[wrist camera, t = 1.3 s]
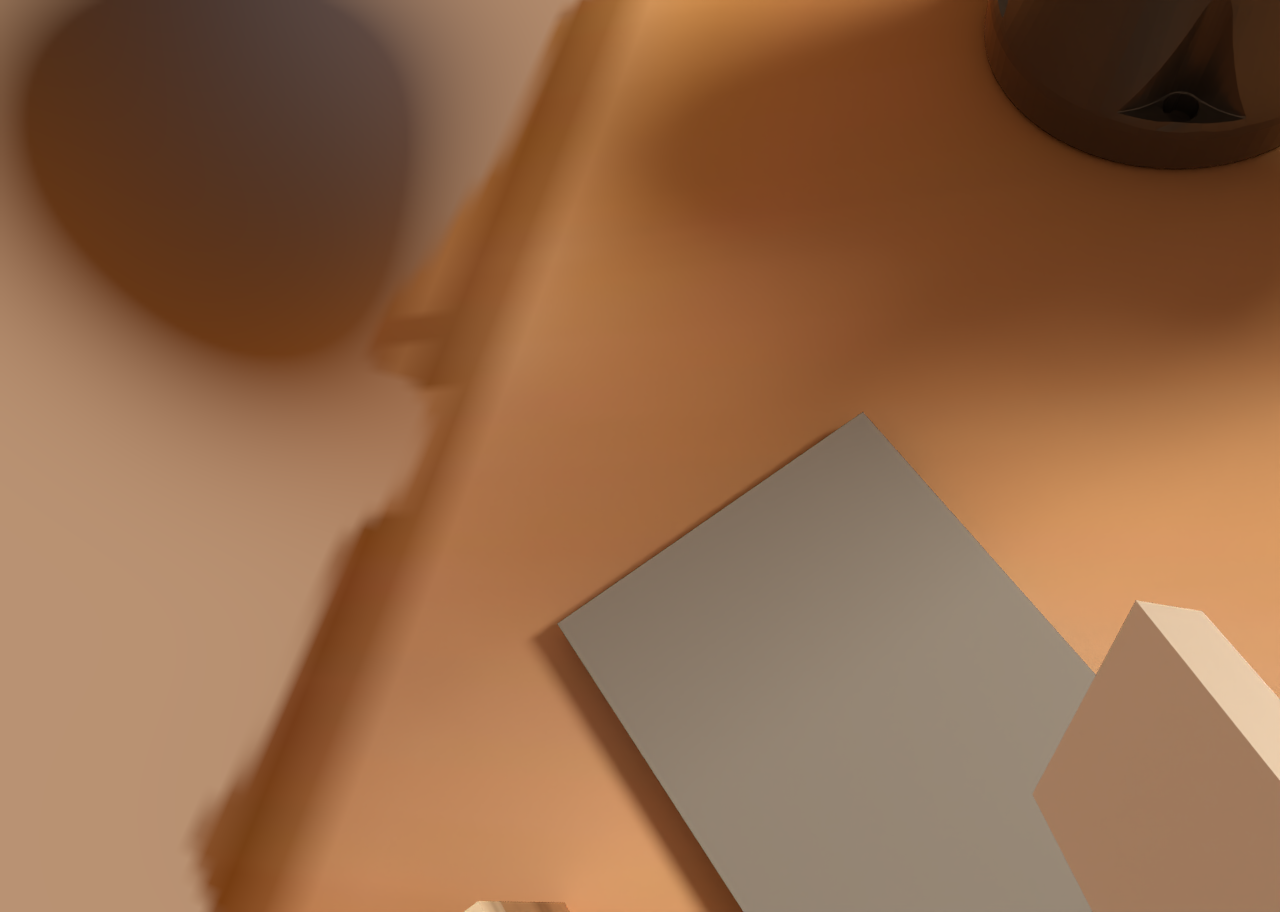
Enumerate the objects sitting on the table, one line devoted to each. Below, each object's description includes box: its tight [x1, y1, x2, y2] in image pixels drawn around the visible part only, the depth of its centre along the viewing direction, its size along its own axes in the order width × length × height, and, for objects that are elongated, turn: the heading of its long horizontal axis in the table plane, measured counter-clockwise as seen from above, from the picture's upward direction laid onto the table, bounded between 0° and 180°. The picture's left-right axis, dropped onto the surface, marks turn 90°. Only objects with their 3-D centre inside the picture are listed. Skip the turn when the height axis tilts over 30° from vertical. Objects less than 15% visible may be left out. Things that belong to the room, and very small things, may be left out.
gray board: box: [558, 412, 1096, 912], centre depth 36 cm, size 14×18×1 cm
